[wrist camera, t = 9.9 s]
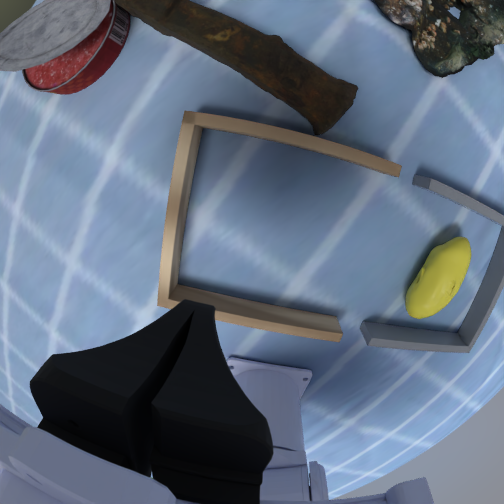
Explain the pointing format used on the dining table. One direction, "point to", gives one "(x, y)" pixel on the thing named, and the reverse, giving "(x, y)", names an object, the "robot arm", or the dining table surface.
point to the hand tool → (251, 57)
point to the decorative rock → (449, 30)
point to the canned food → (65, 43)
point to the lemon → (439, 278)
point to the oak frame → (175, 222)
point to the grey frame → (497, 276)
